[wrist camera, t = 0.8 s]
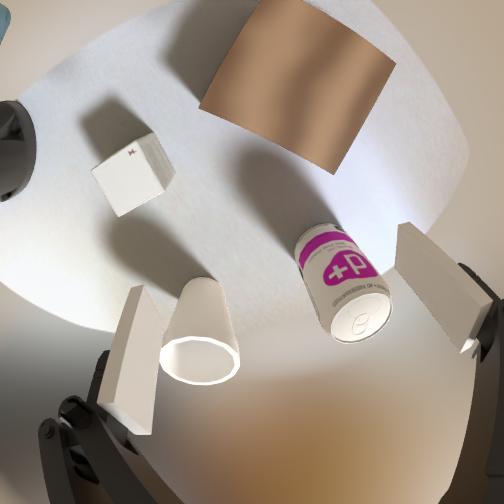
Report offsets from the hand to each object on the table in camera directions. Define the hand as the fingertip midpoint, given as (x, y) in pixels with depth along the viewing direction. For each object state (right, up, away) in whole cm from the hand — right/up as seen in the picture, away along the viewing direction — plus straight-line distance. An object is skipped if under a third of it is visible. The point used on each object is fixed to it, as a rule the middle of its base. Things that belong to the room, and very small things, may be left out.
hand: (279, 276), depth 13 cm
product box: (-14, +12, +18) cm, 26 cm away
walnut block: (+3, +21, +14) cm, 25 cm away
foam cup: (-9, -5, +28) cm, 30 cm away
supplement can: (+8, +2, +26) cm, 27 cm away
